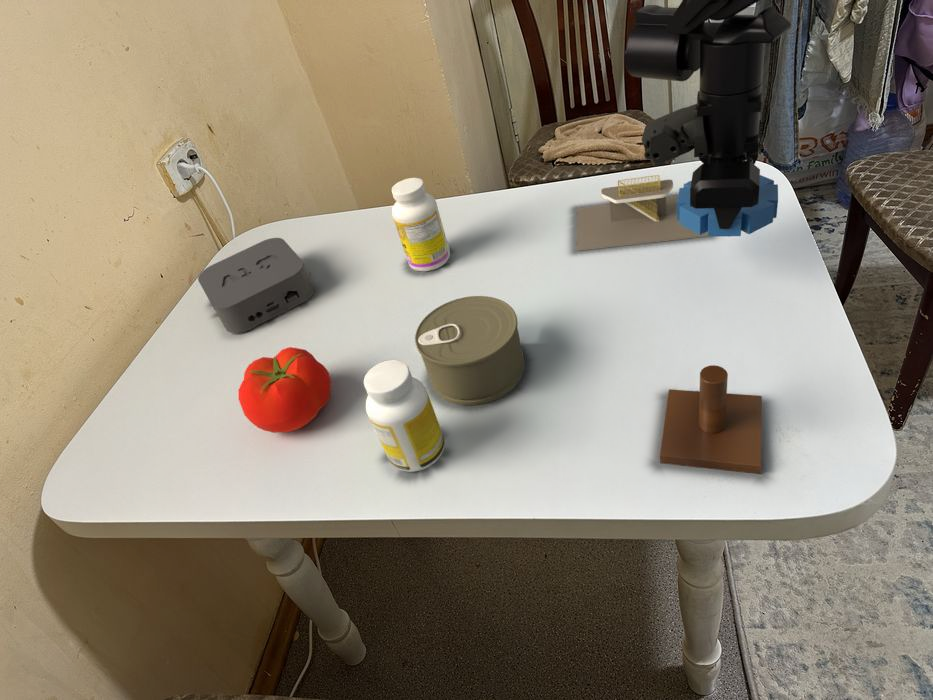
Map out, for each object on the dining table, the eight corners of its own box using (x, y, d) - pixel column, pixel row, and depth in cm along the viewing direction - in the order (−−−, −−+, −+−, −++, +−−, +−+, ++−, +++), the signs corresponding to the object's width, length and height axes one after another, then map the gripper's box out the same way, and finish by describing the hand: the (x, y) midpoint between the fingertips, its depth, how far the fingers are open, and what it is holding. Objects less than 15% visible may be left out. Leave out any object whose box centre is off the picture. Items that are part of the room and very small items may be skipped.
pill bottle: (453, 431, 73) (427, 354, 66) (435, 477, 69) (405, 401, 62) (400, 426, 76) (369, 352, 68) (380, 471, 71) (344, 397, 64)
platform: (709, 236, 90) (710, 193, 86) (577, 250, 94) (571, 210, 90) (697, 192, 99) (698, 152, 95) (576, 208, 103) (572, 169, 99)
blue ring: (775, 186, 80) (777, 168, 78) (776, 236, 72) (778, 217, 71) (682, 190, 84) (682, 172, 82) (674, 237, 76) (673, 219, 75)
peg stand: (760, 403, 67) (767, 343, 62) (760, 474, 61) (767, 414, 56) (668, 396, 70) (667, 339, 65) (660, 463, 64) (657, 405, 59)
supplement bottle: (412, 251, 104) (389, 177, 96) (453, 245, 103) (433, 170, 95) (405, 276, 99) (380, 200, 91) (448, 270, 98) (426, 193, 90)
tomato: (247, 451, 78) (218, 408, 73) (266, 387, 86) (242, 344, 82) (332, 436, 77) (309, 391, 72) (344, 373, 85) (323, 329, 80)
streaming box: (290, 259, 111) (278, 233, 107) (320, 295, 100) (308, 267, 97) (209, 299, 107) (194, 273, 103) (232, 340, 96) (216, 313, 93)
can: (536, 391, 75) (527, 346, 71) (434, 417, 76) (419, 374, 71) (515, 328, 84) (506, 285, 80) (425, 352, 85) (411, 310, 80)
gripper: (656, 57, 74) (660, 183, 84) (633, 132, 61) (641, 269, 71) (765, 45, 70) (755, 179, 80) (764, 123, 57) (753, 270, 67)
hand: (725, 221), depth 74 cm, fingers closed on blue ring, 2 cm apart
